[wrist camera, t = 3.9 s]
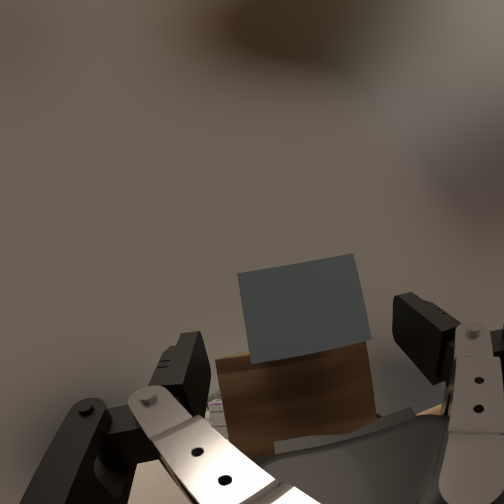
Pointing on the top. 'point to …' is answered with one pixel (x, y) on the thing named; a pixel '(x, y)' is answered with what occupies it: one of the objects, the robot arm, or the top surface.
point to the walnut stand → (295, 397)
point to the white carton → (218, 417)
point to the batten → (303, 308)
